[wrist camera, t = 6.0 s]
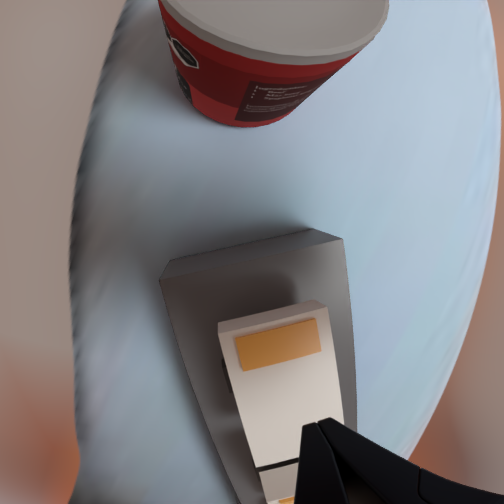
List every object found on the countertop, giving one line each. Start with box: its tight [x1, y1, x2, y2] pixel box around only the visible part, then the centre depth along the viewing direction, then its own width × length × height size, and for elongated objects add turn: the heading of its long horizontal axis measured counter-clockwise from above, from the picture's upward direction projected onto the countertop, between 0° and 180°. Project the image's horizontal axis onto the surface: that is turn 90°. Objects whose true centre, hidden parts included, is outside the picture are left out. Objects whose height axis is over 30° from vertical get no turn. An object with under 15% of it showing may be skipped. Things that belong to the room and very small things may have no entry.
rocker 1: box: [218, 299, 344, 467], centre depth 13 cm, size 7×4×2 cm, turn 11°
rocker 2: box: [259, 463, 298, 504], centre depth 15 cm, size 7×4×2 cm, turn 11°
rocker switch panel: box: [159, 229, 357, 504], centre depth 20 cm, size 30×9×5 cm, turn 11°
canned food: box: [158, 0, 389, 127], centre depth 12 cm, size 8×8×11 cm
